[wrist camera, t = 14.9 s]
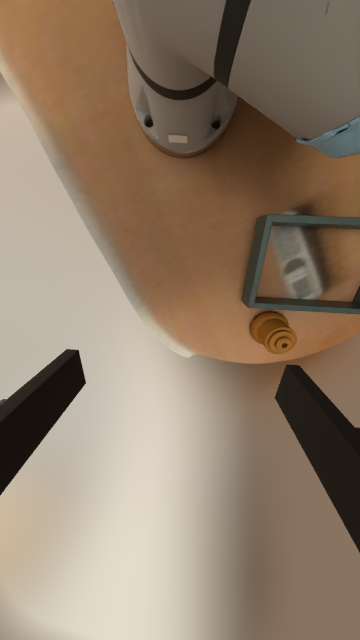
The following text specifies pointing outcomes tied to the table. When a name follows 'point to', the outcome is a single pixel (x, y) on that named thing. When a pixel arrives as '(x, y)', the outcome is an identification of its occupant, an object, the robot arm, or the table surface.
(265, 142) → the table surface
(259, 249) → the rectangular frame
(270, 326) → the ornamental finial
